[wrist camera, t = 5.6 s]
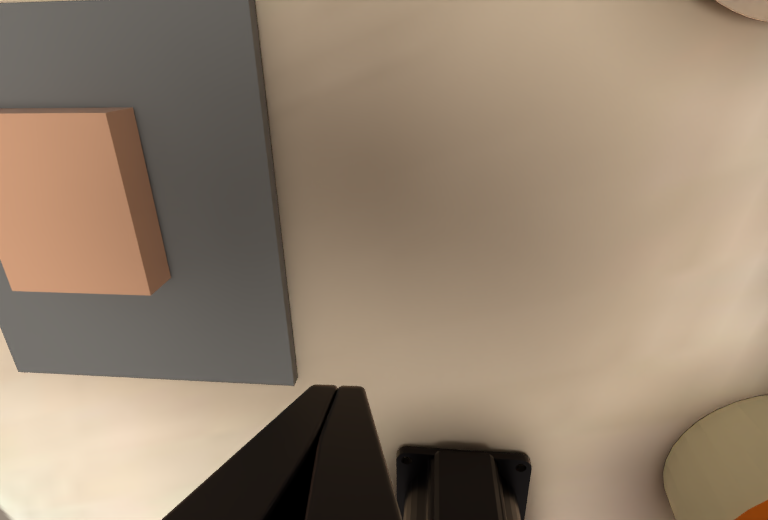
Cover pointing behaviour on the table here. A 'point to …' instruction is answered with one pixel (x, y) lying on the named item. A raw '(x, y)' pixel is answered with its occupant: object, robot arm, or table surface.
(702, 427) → the reusable coffee cup
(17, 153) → the tile
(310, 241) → the table surface
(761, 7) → the mug
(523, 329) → the table surface
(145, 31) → the mat
